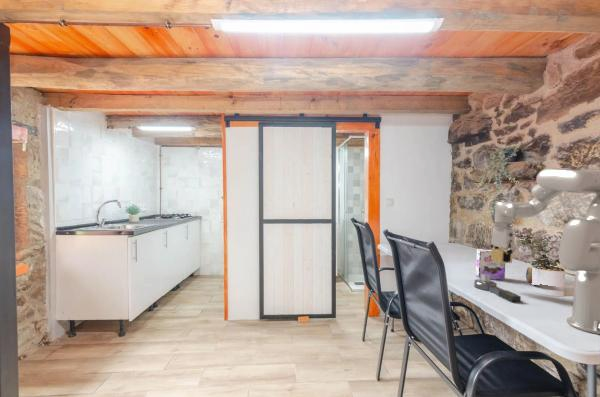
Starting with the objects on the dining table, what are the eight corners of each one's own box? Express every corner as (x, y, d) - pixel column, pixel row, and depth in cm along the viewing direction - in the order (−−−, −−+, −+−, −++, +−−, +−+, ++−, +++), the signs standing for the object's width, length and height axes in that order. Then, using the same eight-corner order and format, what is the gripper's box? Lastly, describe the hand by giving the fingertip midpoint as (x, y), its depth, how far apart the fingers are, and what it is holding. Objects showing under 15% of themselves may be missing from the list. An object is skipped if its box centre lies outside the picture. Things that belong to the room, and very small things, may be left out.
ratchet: (525, 302, 139) (526, 287, 139) (506, 302, 138) (506, 287, 138) (487, 284, 164) (487, 272, 164) (470, 284, 163) (470, 272, 163)
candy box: (478, 278, 176) (479, 250, 175) (475, 275, 182) (476, 248, 181) (504, 280, 173) (506, 252, 172) (500, 277, 178) (502, 250, 178)
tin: (525, 279, 175) (526, 265, 174) (531, 280, 174) (532, 266, 173) (535, 287, 160) (536, 272, 160) (542, 288, 159) (543, 273, 159)
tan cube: (511, 262, 152) (512, 251, 152) (501, 263, 151) (501, 251, 151) (501, 259, 159) (501, 248, 158) (490, 259, 157) (491, 248, 157)
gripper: (524, 228, 146) (522, 264, 147) (495, 223, 163) (493, 255, 164) (511, 228, 145) (509, 264, 146) (483, 223, 162) (481, 256, 163)
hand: (501, 259), depth 155 cm, fingers closed on tan cube, 6 cm apart
